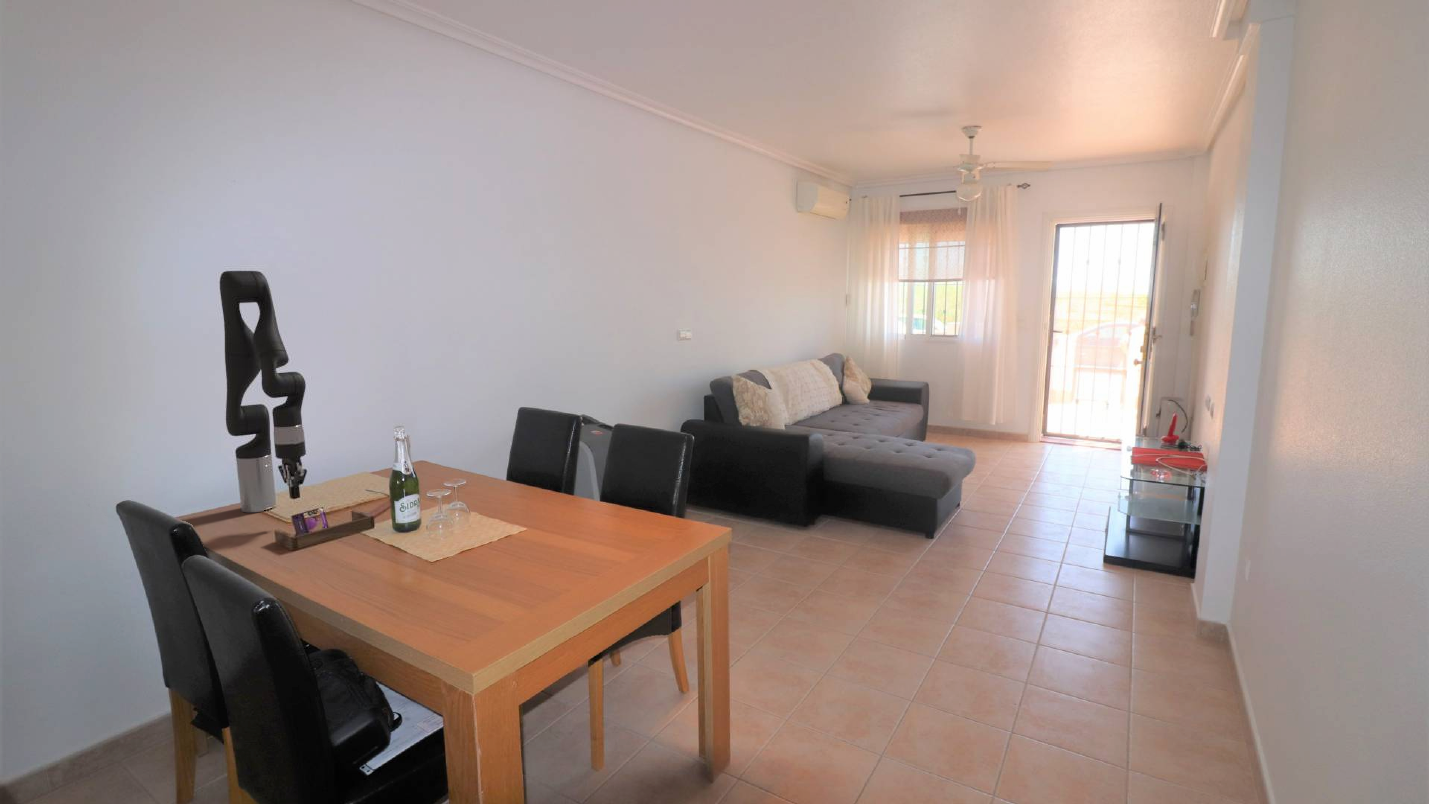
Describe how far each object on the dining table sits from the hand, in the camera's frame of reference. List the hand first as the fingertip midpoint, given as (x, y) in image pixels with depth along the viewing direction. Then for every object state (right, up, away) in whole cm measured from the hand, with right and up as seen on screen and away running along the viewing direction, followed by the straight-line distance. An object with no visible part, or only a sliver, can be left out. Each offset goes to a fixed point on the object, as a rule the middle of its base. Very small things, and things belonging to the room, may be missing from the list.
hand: (295, 498), depth 197 cm
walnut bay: (+13, -9, -7) cm, 18 cm away
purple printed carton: (+7, -9, -6) cm, 13 cm away
